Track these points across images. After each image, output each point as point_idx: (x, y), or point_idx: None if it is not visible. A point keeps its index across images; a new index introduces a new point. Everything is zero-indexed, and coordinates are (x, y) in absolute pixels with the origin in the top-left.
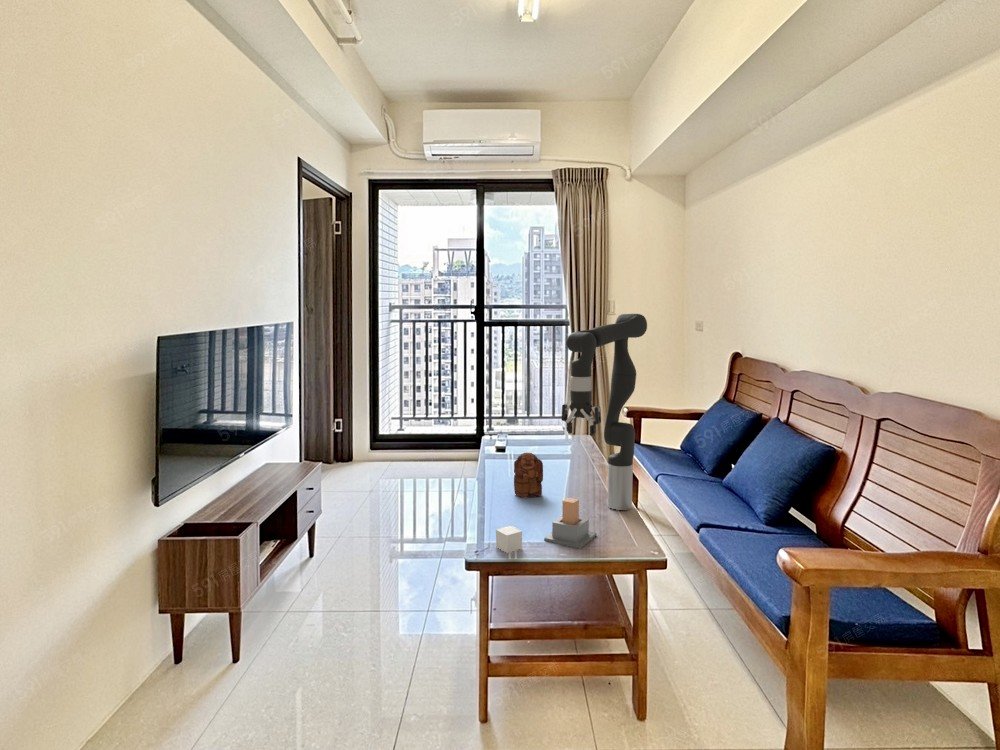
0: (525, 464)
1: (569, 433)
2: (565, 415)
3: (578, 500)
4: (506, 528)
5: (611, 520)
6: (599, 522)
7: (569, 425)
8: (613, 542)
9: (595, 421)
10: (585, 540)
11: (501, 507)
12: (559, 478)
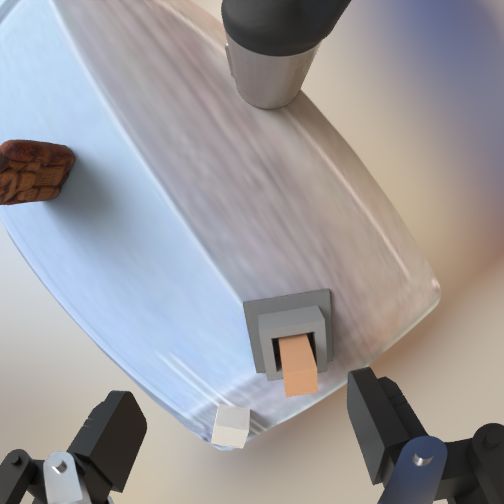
0: (2, 197)
1: (140, 418)
2: (11, 489)
3: (316, 368)
4: (219, 434)
5: (306, 179)
6: (290, 211)
7: (125, 478)
8: (370, 294)
9: (451, 498)
10: (329, 337)
11: (70, 278)
12: (53, 43)
